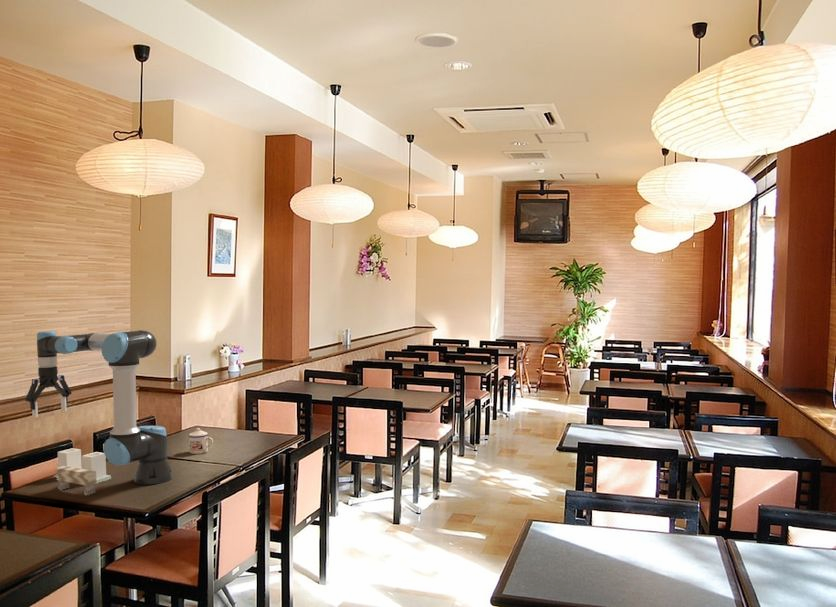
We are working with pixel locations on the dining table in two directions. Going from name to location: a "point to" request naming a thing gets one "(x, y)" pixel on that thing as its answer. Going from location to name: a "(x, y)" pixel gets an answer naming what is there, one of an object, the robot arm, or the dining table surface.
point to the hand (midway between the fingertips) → (49, 414)
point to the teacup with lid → (199, 442)
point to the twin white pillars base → (84, 462)
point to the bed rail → (76, 478)
